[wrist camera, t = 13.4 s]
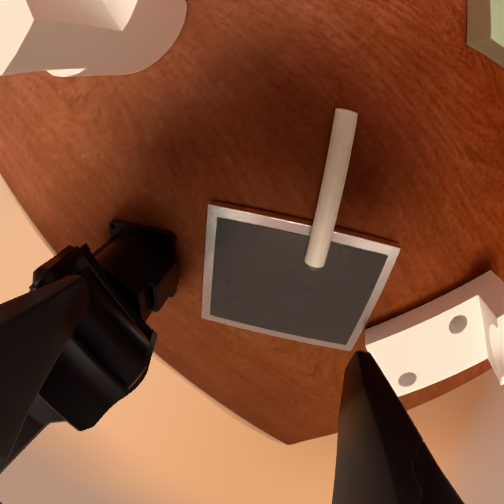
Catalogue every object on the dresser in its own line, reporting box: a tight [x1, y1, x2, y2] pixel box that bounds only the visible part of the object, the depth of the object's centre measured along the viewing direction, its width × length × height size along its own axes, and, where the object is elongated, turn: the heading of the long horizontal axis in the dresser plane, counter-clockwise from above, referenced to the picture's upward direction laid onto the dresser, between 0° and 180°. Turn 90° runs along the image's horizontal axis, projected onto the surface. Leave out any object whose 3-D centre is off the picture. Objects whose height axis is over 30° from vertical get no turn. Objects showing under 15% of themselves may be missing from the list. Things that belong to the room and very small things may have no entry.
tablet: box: [202, 200, 401, 351], centre depth 22 cm, size 14×11×1 cm
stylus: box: [304, 108, 358, 271], centre depth 17 cm, size 1×1×11 cm
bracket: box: [365, 270, 504, 397], centre depth 18 cm, size 13×7×8 cm, turn 125°
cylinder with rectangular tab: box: [0, 0, 187, 77], centre depth 9 cm, size 9×9×12 cm
